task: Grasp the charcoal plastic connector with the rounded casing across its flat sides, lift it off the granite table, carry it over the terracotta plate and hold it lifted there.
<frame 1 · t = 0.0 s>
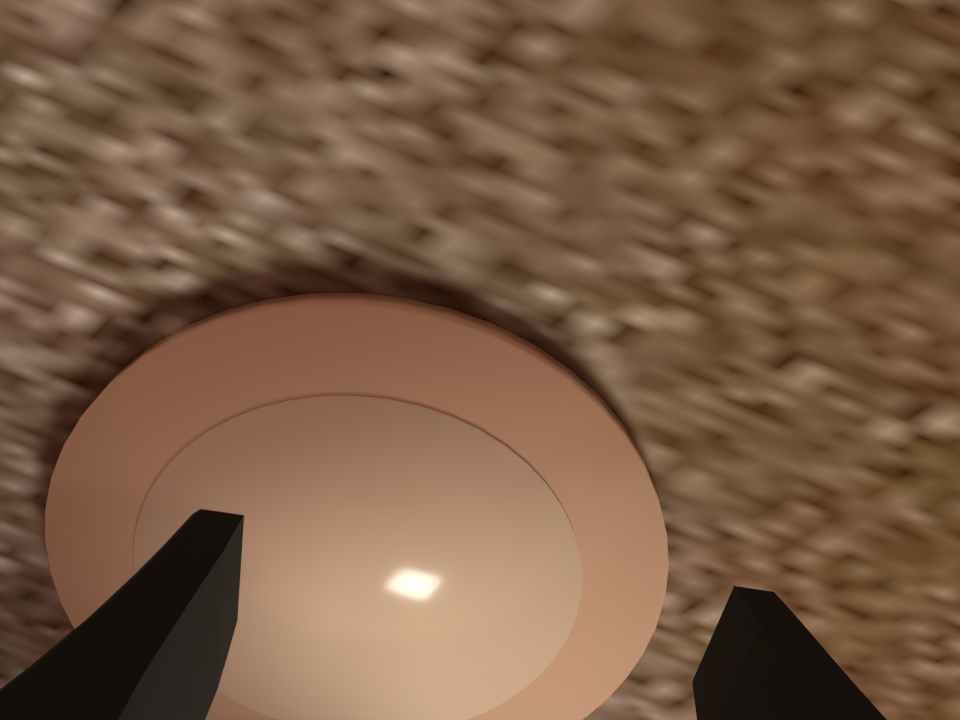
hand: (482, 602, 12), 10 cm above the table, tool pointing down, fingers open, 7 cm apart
plate: (363, 566, 25), on the table
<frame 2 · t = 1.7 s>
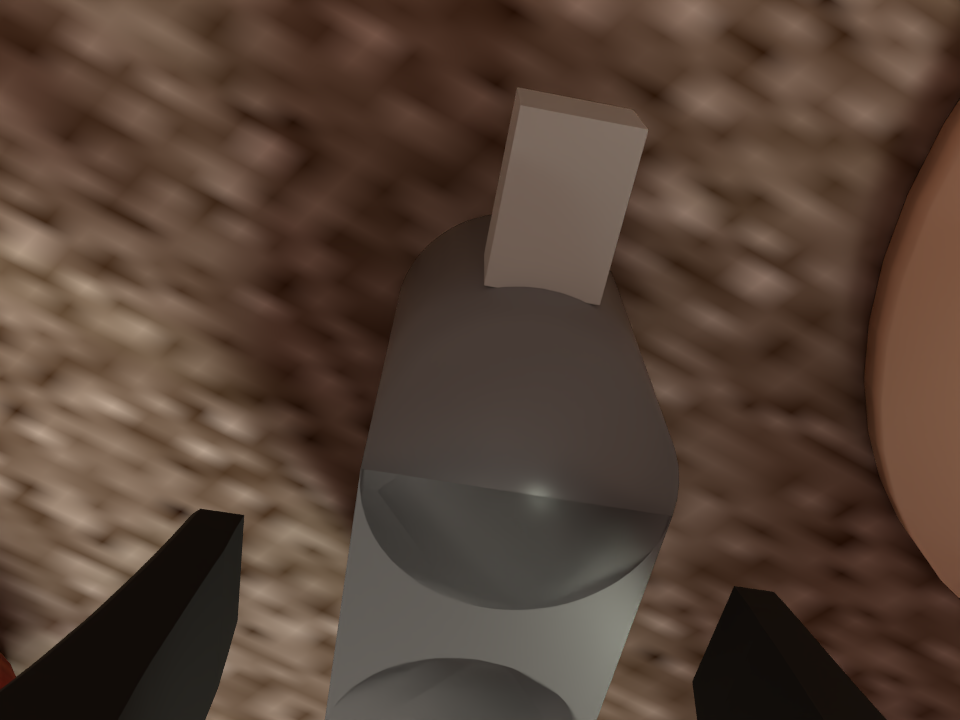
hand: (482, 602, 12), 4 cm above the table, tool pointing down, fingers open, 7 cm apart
connector: (482, 436, 16), on the table
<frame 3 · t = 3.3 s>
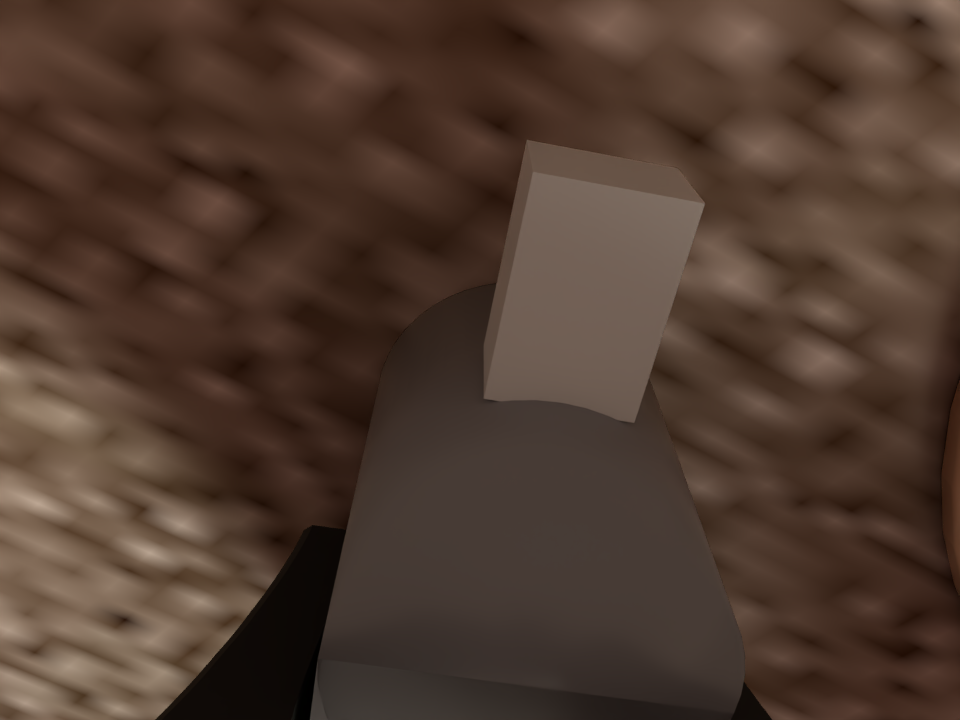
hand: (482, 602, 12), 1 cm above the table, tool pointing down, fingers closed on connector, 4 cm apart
connector: (482, 538, 13), on the table, touching gripper
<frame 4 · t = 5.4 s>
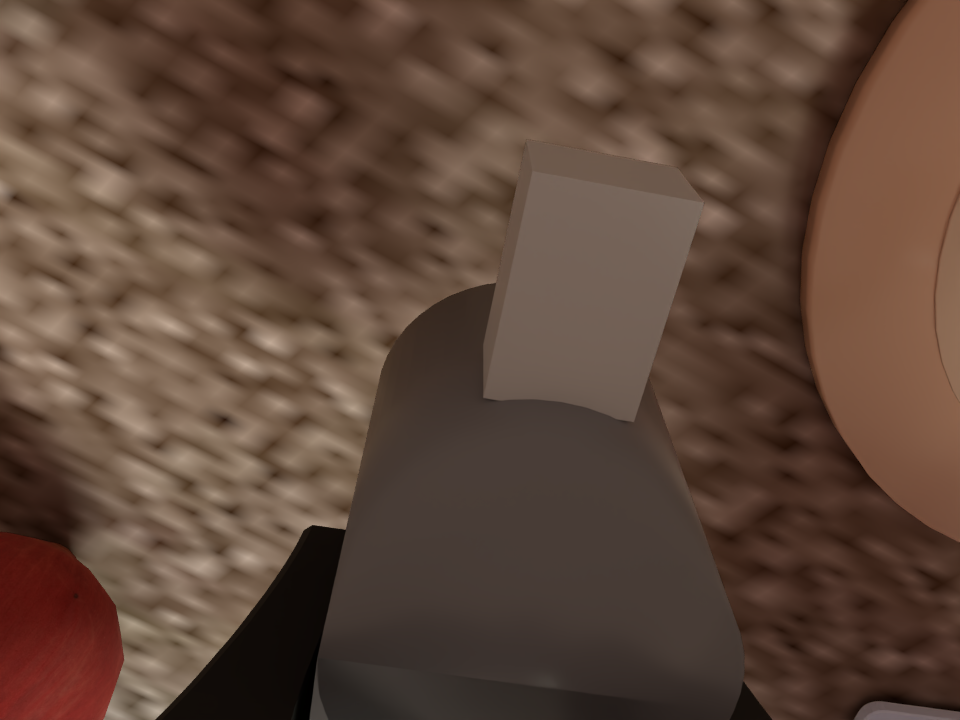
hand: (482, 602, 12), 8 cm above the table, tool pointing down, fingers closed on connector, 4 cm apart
onion: (57, 549, 22), on the table
connector: (482, 537, 13), point 6 cm above the table, touching gripper
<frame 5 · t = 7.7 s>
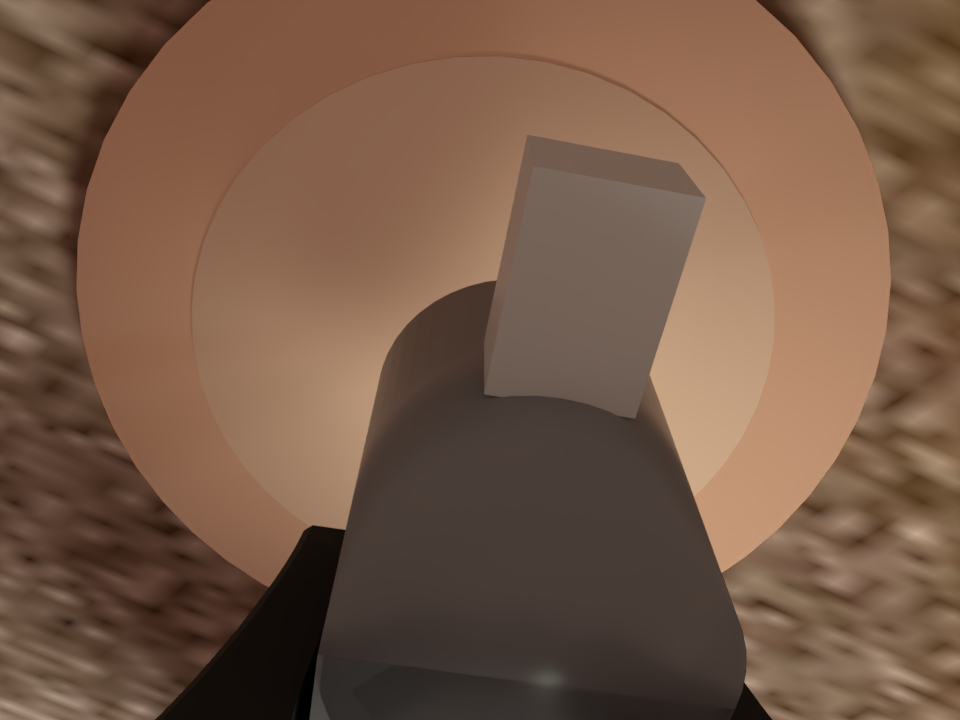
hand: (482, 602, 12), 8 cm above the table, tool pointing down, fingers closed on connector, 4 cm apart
connector: (482, 535, 13), point 7 cm above the table, touching gripper
plate: (482, 341, 20), on the table
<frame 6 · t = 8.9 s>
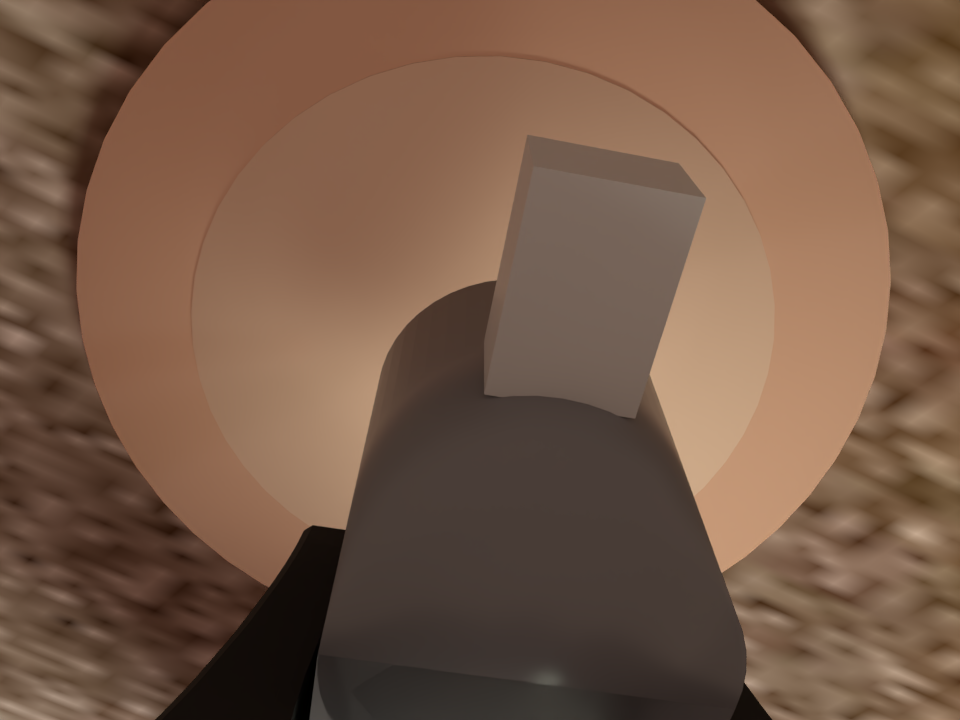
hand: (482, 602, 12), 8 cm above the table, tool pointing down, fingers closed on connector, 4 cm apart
connector: (482, 535, 13), point 7 cm above the table, touching gripper
plate: (482, 341, 20), on the table
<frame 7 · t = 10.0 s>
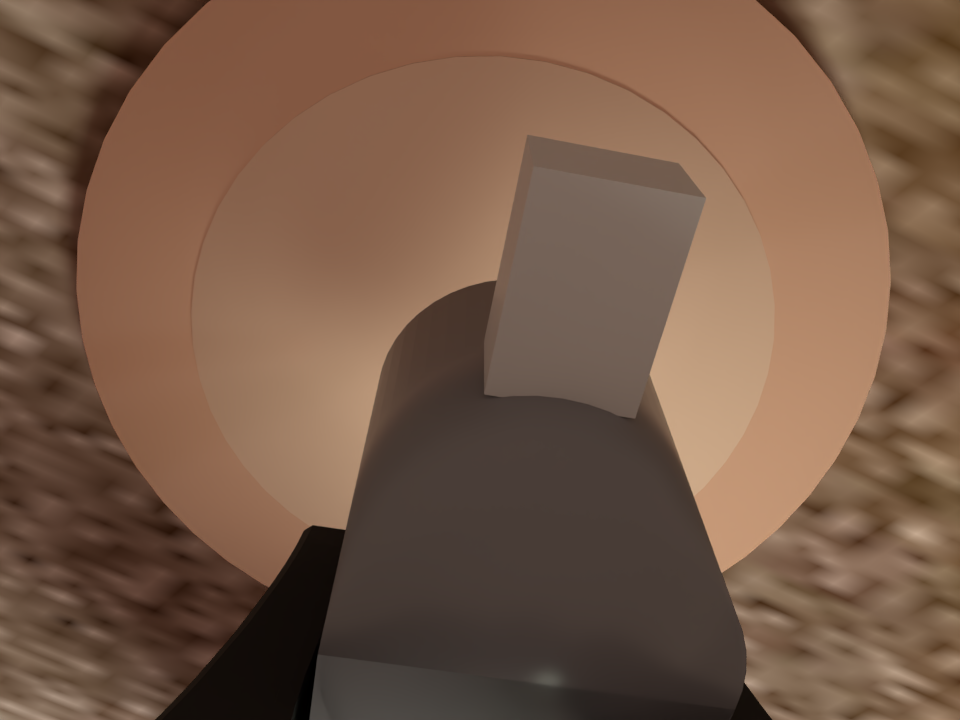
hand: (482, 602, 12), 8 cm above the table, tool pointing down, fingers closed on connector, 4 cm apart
connector: (482, 535, 13), point 7 cm above the table, touching gripper
plate: (482, 341, 20), on the table
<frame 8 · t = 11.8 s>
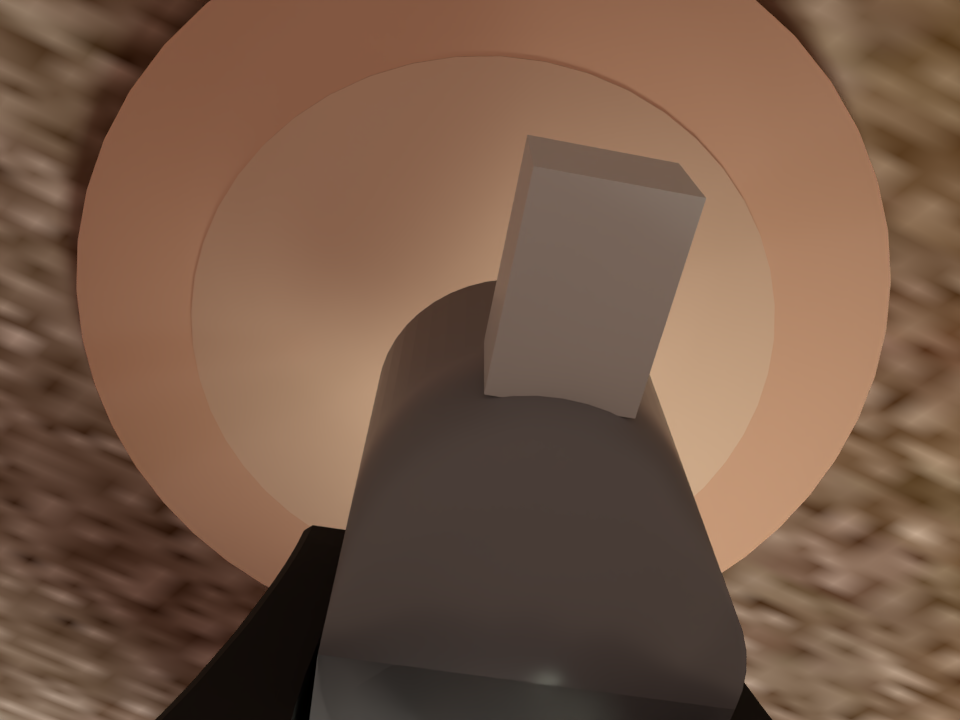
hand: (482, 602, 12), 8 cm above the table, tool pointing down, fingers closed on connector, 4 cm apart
connector: (482, 535, 13), point 7 cm above the table, touching gripper
plate: (482, 341, 20), on the table
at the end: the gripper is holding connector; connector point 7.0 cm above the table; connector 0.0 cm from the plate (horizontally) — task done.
